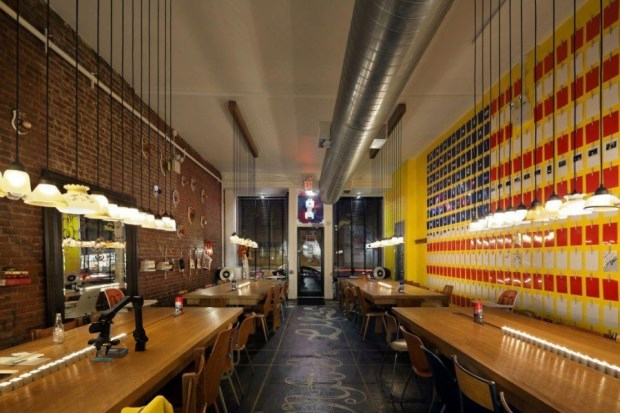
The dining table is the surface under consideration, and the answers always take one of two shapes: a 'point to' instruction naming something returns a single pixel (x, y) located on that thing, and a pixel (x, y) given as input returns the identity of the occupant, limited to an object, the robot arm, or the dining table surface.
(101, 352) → the ash cube
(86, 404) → the dining table surface
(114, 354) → the housing
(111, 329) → the milk carton
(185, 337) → the dining table surface
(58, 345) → the dining table surface
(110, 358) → the teal mat
